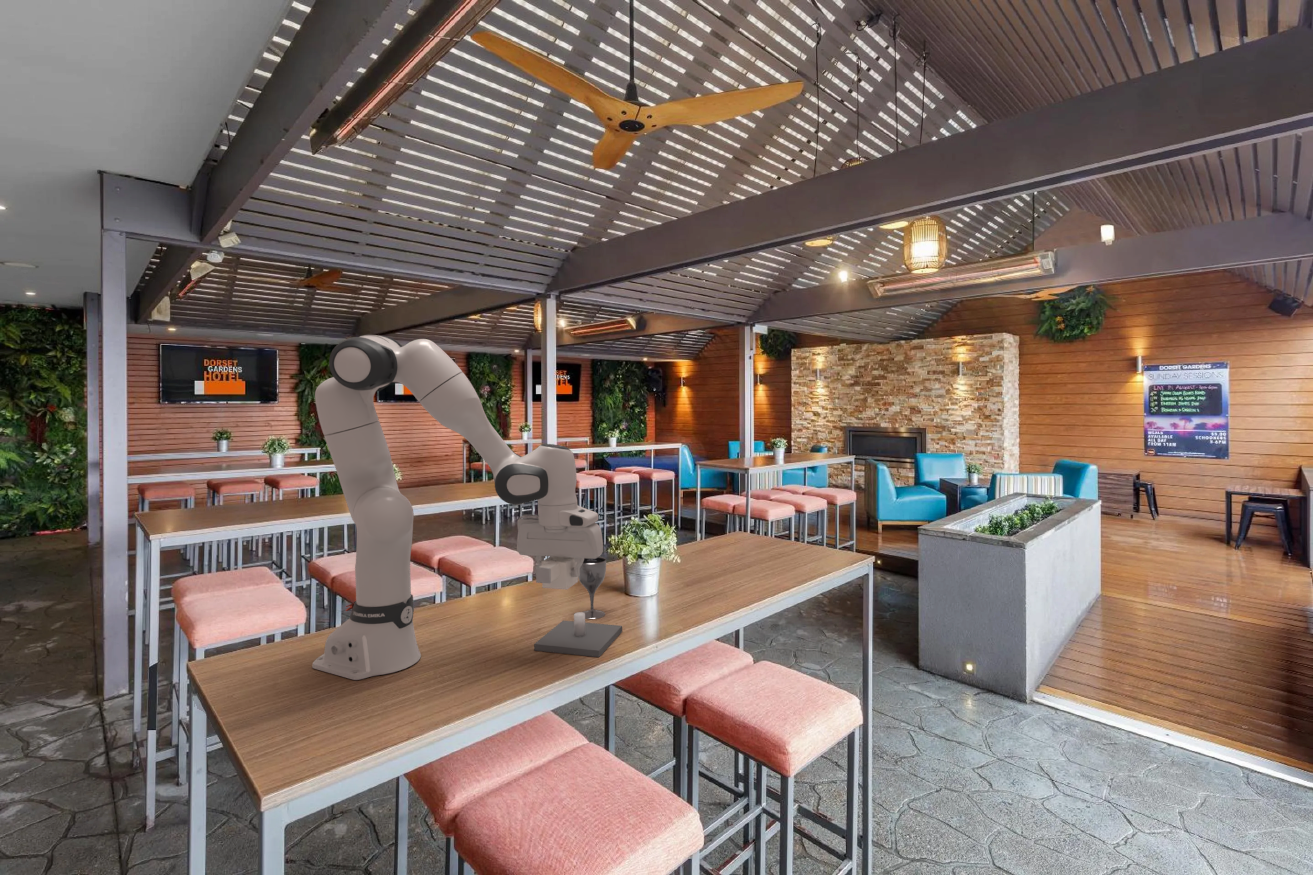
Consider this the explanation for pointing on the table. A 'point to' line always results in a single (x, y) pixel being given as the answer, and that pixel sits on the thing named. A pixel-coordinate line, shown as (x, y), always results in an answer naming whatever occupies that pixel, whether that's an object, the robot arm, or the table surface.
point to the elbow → (556, 573)
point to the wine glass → (592, 581)
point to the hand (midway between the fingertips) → (560, 575)
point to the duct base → (579, 637)
